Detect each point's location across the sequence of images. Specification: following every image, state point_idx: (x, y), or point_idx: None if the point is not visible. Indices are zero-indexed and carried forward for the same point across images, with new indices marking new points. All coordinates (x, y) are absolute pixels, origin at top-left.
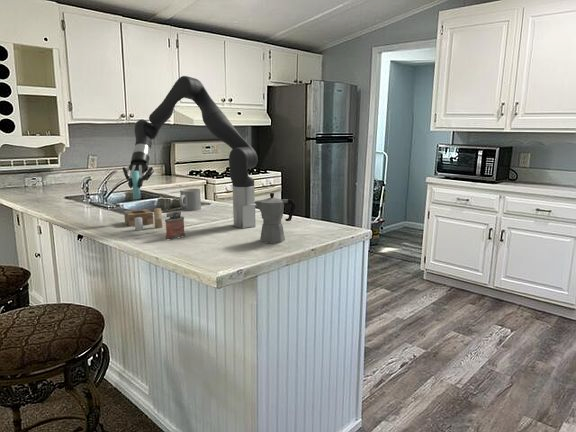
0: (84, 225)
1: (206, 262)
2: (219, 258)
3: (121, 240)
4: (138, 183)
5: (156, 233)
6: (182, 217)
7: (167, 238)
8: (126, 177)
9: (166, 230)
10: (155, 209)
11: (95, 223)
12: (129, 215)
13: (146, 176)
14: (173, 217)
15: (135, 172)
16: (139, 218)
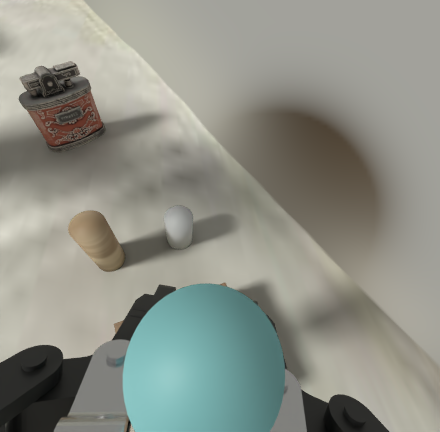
0: (409, 364)
1: (63, 16)
2: (36, 21)
3: (214, 144)
4: (164, 293)
5: (125, 183)
6: (26, 93)
7: (102, 123)
8: (339, 401)
9: (96, 108)
10: (98, 214)
11: (385, 402)
12: (223, 283)
13: (19, 353)
14: (58, 82)
15: (189, 290)
16: (174, 210)
